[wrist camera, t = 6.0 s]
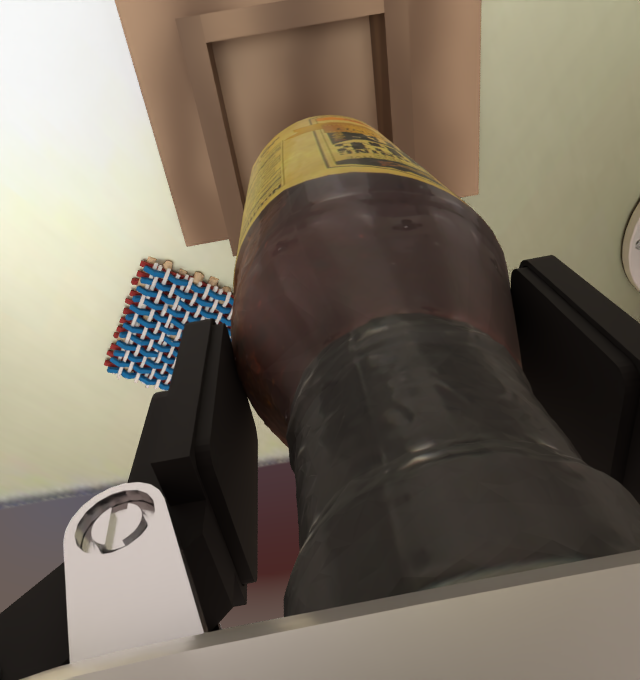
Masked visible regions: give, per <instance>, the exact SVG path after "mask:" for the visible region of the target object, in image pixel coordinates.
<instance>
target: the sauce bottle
mask: <svg viewBox="0 0 640 680" xmlns="http://www.w3.org/2000/svg"><path fill="white" fill-rule="evenodd" d="M233 288H234V302H233V307H232V309H233V311H232V316H231V340H232V341H231V342H232V346H233V347H232V348H233V358H234V362H235V366H236V369H237V373H238V376H239V378H240V380H241V382H242V386H243V389H244V392H245V394H246V396H247V397H248V399H249V400H250V402H251V404H252V406H253V408H254V409H255V411H256V412H257V414H258V415H259V417H260V418H261V419H262V420H263V421H264V424H265V425H266V426H267V427H269V428H270V430H271V431H272V432H273V433H274V434H275V435H276V436H277V437H278V438H279V439H280V440H281V441H282V442H283V443H284V444H285V445H286V446H287V447H288V448H289V458H290V465H291V468H292V470H293V472H294V473H295V478H296V498H297V508H298V524H299V546H300V553H299V555H298V558H297V560H296V563H295V565H294V568H293V570H292V573H291V575H290V579H289V582H288V586H287V589H286V592H285V596H284V617H288V616H293V615H298V614H304V613H309V612H314V611H319V610H324V609H329V608H335V607H340V606H345V605H350V604H355V603H360V602H366V601H371V600H376V599H381V598H386V597H391V596H397V595H402V594H407V593H412V592H418V591H423V590H428V589H433V588H439V587H444V586H449V585H455V584H460V583H465V582H471V581H476V580H481V579H486V578H492V577H497V576H502V575H508V574H513V573H518V572H524V571H529V570H534V569H540V568H545V567H550V566H556V565H561V564H566V563H572V562H577V561H582V560H588V559H593V558H599V557H604V556H609V555H615V554H620V553H625V552H631V551H636V550H640V505H639V503H638V502H637V501H636V500H635V498H634V497H633V495H632V494H631V493H630V492H629V491H628V490H627V489H626V488H625V487H623V486H622V485H621V484H620V483H619V482H618V481H616V480H615V479H613V478H612V477H610V476H609V475H607V474H606V473H604V472H601V471H599V470H596V469H594V468H592V467H590V466H589V465H587V464H586V463H585V462H584V461H583V460H582V458H581V456H580V454H579V453H578V452H577V450H576V449H575V447H574V446H573V444H572V443H571V441H570V440H569V439H568V437H567V436H566V435H565V434H564V432H563V431H562V430H561V429H560V427H559V426H558V425H557V423H556V422H555V421H554V420H553V419H552V418H551V417H550V416H549V415H548V413H547V412H546V410H545V409H544V407H543V406H542V404H541V403H540V402H539V401H538V400H537V398H536V397H535V396H534V394H533V392H532V388H531V385H530V383H529V381H528V380H527V378H526V376H525V374H524V372H523V369H522V362H521V354H520V347H519V340H518V334H517V327H516V321H515V314H514V308H513V302H512V295H511V289H510V282H509V276H508V270H507V265H506V261H505V257H504V253H503V251H502V249H501V247H500V245H499V243H498V241H497V239H496V237H495V235H494V233H493V231H492V230H491V229H490V227H489V226H488V225H487V224H486V222H485V221H484V220H483V219H482V218H481V217H480V216H479V215H478V214H477V213H476V212H475V211H474V210H473V209H472V208H471V207H470V206H469V205H467V204H466V203H465V202H464V201H463V200H461V199H460V198H459V197H458V196H457V195H455V194H454V193H453V192H452V191H450V190H449V189H448V188H447V187H445V186H444V185H443V184H442V183H440V182H439V181H438V180H437V179H436V178H434V177H433V176H432V175H431V174H430V173H429V172H428V171H426V170H425V169H424V168H423V167H422V166H421V165H419V164H418V163H416V162H415V161H414V160H413V159H411V158H410V157H409V156H408V155H407V154H406V153H404V152H403V151H402V150H400V149H399V148H398V147H397V146H395V145H394V144H393V143H392V142H391V141H389V140H388V139H387V138H386V137H384V136H383V135H382V134H381V133H380V132H379V131H377V130H376V129H374V128H372V127H371V126H369V125H367V124H366V123H364V122H362V121H360V120H357V119H354V118H350V117H345V116H338V115H323V116H314V117H309V118H306V119H303V120H300V121H298V122H296V123H294V124H292V125H290V126H289V127H287V128H286V129H284V130H283V131H281V132H280V133H279V134H277V135H276V136H275V137H274V138H273V139H272V140H271V141H270V142H269V143H268V144H267V145H266V147H265V148H264V149H263V150H262V152H261V153H260V155H259V157H258V158H257V160H256V162H255V163H254V165H253V168H252V172H251V176H250V180H249V185H248V190H247V196H246V202H245V207H244V212H243V219H242V225H241V232H240V238H239V245H238V251H237V258H236V264H235V269H234V280H233Z"/></svg>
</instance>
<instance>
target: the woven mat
mask: <svg viewBox="0 0 640 680" xmlns="http://www.w3.org/2000/svg"><path fill="white" fill-rule="evenodd" d="M156 260H157V259H155V258H152V257H148V259H147V261H146V262H145V261H143V260H142V261H141V263H140V266H142V267H144V268H143V271H140V270H138V272H137V275H136V276H138V277H140V279H137V278H132V281H131V283H132V285H137V288H136V291H134V290H131V292H130V294H129V295H130V296H133V298H132V300H130V299H127V298H126V300H125V303H127V304H129V305H130V307H129V309H128V308H124V310H123V314H127V315H126V317H125V318H123V317H121V319H120V323H123V326H119V325H118V327H117V330H116V331H118V332H115V333H114V335H113V336H114V338H118V339H117V343H116V344H113V343H112V344H111V347H110V349H113V350H114V351H111V350H109V351H108V352H107V355H109V356H110V357H111V359H110V361H109V360H105V363H104V365H105V366H109V367H108V369H107V371H108V372H109V373H112V374H116V373H118V374H117V378H118V379H119V378H120V375H122V376H123V377H124V378H125V379H132V378H135V380H134V383H136V382H138V380H140V381H141V383H143V384H146V386H145V387H147V388H149V385H155V386H154V389H158V387H159V388H160V389H162V390H164V391H165V390H169V386H170V382H171V378H172V374H173V370H174V366H175V362H176V358H177V354H178V349H179V345H180V341H181V337H182V333H183V329H184V325H185V323H189V322H194V321H200V320H205V319H210V318H214V320H215V322H216V324H222V323H225V324H226V326H227V329H228V332H229V335H230V339H231V316H232V311H233V309H232V307H233V302H234V295H231V288H228V287H226V286H224V287H223V288H222V289H218V286H216V285H217V282H218V280H219V279H217V278H215V277H212V276H211V277H210V279H209V281H208V284H206V283H205V282H203V281H202V280H203V278H204V275H202V274H201V273H198V272H195V274H194V277H193V276H189V275H187V271H185V270H182V269H180V271H179V273H175V272H172V271H171V270H172V262H170V261H166V262H165V263H164V264H163V267H162V265H159V266H158V263H156ZM167 280H169V281H170V282H169V281H167ZM171 282H172V283H171ZM185 286H187V287H186V288H184V287H185ZM148 289H149V290H148ZM167 291H170V292H167ZM201 293H203V294H201ZM210 307H212V308H210ZM225 307H226V308H225ZM151 321H153V322H151ZM178 340H179V341H178ZM231 341H232V340H231ZM128 343H129V344H128ZM154 361H156V362H154ZM132 371H133V372H134V373H131V372H132Z"/></svg>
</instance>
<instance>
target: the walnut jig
mask: <svg viewBox="0 0 640 680" xmlns="http://www.w3.org/2000/svg"><path fill="white" fill-rule="evenodd" d="M115 3H116V6H117V10H118V13H119V17H120V20H121V24H122V27H123V30H124V34H125V37H126V41H127V44H128V48H129V51H130V54H131V58H132V61H133V65H134V68H135V72H136V75H137V78H138V82H139V85H140V89H141V92H142V96H143V99H144V102H145V106H146V109H147V113H148V116H149V120H150V123H151V126H152V130H153V133H154V137H155V140H156V143H157V147H158V150H159V154H160V157H161V161H162V164H163V167H164V171H165V174H166V178H167V181H168V185H169V188H170V191H171V195H172V198H173V202H174V205H175V209H176V212H177V215H178V219H179V222H180V226H181V229H182V233H183V236H184V239H185V243H186V246H187V247H188V246H193V245H199V244H204V243H210V242H215V241H221V240H226V239H229V241H230V245H231V249H232V253H233V256H237V251H238V245H239V238H240V232H241V225H242V219H243V212H244V207H245V202H246V196H247V190H248V185H249V180H250V176H251V172H252V168H253V165H254V163H255V162H256V160H257V158H258V157H259V155H260V153H261V152H262V150H263V149H264V148H265V147H266V145H267V144H268V143H269V142H270V141H271V140H272V139H273V138H274V137H275V136H276V135H277V134H279V133H280V132H281V131H283V130H284V129H286V128H287V127H289V126H290V125H292V124H294V123H296V122H298V121H300V120H303V119H306V118H309V117H314V116H323V115H338V116H345V117H350V118H354V119H357V120H360V121H362V122H364V123H366V124H367V125H369V126H371V127H372V128H374V129H376V130H377V131H379V132H380V133H381V134H382V135H383V136H384V137H386V138H387V139H388V140H389V141H391V142H392V143H393V144H394V145H395V146H397V147H398V148H399V149H400V150H402V151H403V152H404V153H406V154H407V155H408V156H409V157H410V158H411V159H413V160H414V161H415V162H416V163H418V164H419V165H421V166H422V167H423V168H424V169H425V170H426V171H428V172H429V173H430V174H431V175H432V176H433V177H434V178H436V179H437V180H438V181H439V182H440V183H442V184H443V185H444V186H445V187H447V188H448V189H449V190H450V191H452V192H453V193H454V194H455V195H457V196H458V197H459V198H460V197H466V196H471V195H477V194H478V185H479V117H480V49H481V0H115Z"/></svg>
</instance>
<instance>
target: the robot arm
mask: <svg viewBox="0 0 640 680" xmlns="http://www.w3.org/2000/svg"><path fill="white" fill-rule="evenodd" d="M622 260H623V265H624V269H625V273H626V275H627V277H628V279H629V281H630V283H631V284H632V285H633V286H634V287H635V288H636V289H637V290H638V291H639V292H640V202H639V204H638V205H637V207H636V209H635V211H634V212H633V214H632V216H631V219H630V221H629V224H628V226H627V229H626V232H625V237H624V241H623V253H622ZM511 295H512V302H513V308H514V314H515V321H516V327H517V334H518V340H519V347H520V354H521V362H522V369H523V372H524V374H525V376H526V378H527V380H528V381H529V383H530V385H531V388H532V392H533V394H534V396H535V397H536V398H537V400H538V401H539V402H540V403H541V404H542V406H543V407H544V409H545V410H546V412H547V413H548V415H549V416H550V417H551V418H552V419H553V420H554V421H555V422H556V423H557V425H558V426H559V427H560V429H561V430H562V431H563V432H564V434H565V435H566V436H567V437H568V439H569V440H570V441H571V443H572V444H573V446H574V447H575V449H576V450H577V452H578V453H579V454H580V456H581V458H582V460H583V461H584V462H585V463H586V464H587V465H589V466H590V467H592V468H594V469H596V470H599V471H601V472H604V473H606V474H607V475H609V476H610V477H612V478H613V479H615V480H616V481H618V482H619V483H620V484H621V485H622V486H623V487H625V488H626V489H627V490H628V491H629V492H630V493H631V494H632V495H633V497H634V498H635V500H636V501H637V502H638V503H639V505H640V323H638V322H637V321H636V320H634V319H633V318H632V317H631V316H629V315H628V314H627V313H626V312H624V311H623V310H622V309H621V308H619V307H618V306H617V305H616V304H614V303H613V302H612V301H610V300H609V299H608V298H607V297H605V296H604V295H603V294H602V293H600V292H599V291H598V290H597V289H595V288H594V287H593V286H592V285H590V284H589V283H588V282H586V281H585V280H584V279H583V278H581V277H580V276H579V275H578V274H576V273H575V272H574V271H573V270H571V269H570V268H569V267H568V266H566V265H565V264H564V263H562V262H561V261H560V260H559V259H557V258H556V257H555V256H553V255H550V256H544V257H539V258H533V259H528V260H523V261H522V262H521V264H520V266H519V268H518V269H514V270H513V271H512V274H511ZM232 347H233V346H232V342H231V339H230V335H229V332H228V329H227V326H226V324H225V323H222V324H216V322H215V320H214V318H210V319H205V320H200V321H194V322H189V323H185V325H184V329H183V333H182V337H181V341H180V345H179V349H178V354H177V358H176V362H175V366H174V370H173V374H172V378H171V382H170V386H169V390H168V391H162V392H157V393H155V394H154V395H153V397H152V399H151V403H150V406H149V410H148V413H147V417H146V420H145V424H144V427H143V431H142V434H141V438H140V441H139V445H138V448H137V452H136V455H135V459H134V462H133V466H132V469H131V473H130V476H129V480H128V483H124V484H121V485H118V486H115V487H112V488H109V489H107V490H105V491H104V492H102V493H100V494H98V495H96V496H95V497H93V498H92V499H91V500H89V501H88V502H87V503H86V504H84V505H83V506H82V507H81V508H80V509H79V511H78V512H77V513H76V514H75V515H74V516H73V517H72V519H71V521H70V523H69V525H68V527H67V529H66V531H65V537H64V542H63V544H64V563H62V564H61V565H60V566H59V567H57V568H56V569H55V570H54V571H52V572H51V573H50V574H49V575H47V576H46V577H45V578H44V579H43V580H41V581H40V582H39V583H38V584H36V585H35V586H34V587H33V588H31V589H30V590H29V591H28V592H26V593H25V594H24V595H23V596H21V598H19V599H18V600H17V601H15V602H14V603H13V604H12V605H11V606H9V607H8V608H7V609H5V610H4V611H3V612H2V613H1V614H0V680H640V550H636V551H631V552H625V553H620V554H615V555H609V556H604V557H599V558H593V559H588V560H582V561H577V562H572V563H566V564H561V565H556V566H550V567H545V568H540V569H534V570H529V571H524V572H518V573H513V574H508V575H502V576H497V577H492V578H486V579H481V580H476V581H471V582H465V583H460V584H455V585H449V586H444V587H439V588H433V589H428V590H423V591H418V592H412V593H407V594H402V595H397V596H391V597H386V598H381V599H376V600H371V601H366V602H360V603H355V604H350V605H345V606H340V607H335V608H329V609H324V610H319V611H314V612H309V613H304V614H298V615H293V616H288V617H283V618H278V619H273V620H267V621H262V622H257V623H252V624H247V625H242V626H237V627H231V628H226V629H222V628H221V625H220V621H221V620H222V619H223V618H224V617H225V615H226V614H227V613H228V612H229V611H230V610H231V609H232V608H233V607H234V606H241V605H245V604H246V603H247V602H246V601H247V584H248V583H253V582H256V581H257V533H258V531H257V530H258V529H257V528H258V527H257V526H258V524H257V521H258V514H257V513H258V505H257V503H258V439H257V431H256V426H255V423H254V419H253V416H252V412H251V409H250V405H249V402H248V398H247V396H246V394H245V392H244V389H243V386H242V382H241V380H240V378H239V376H238V373H237V369H236V366H235V362H234V358H233V348H232Z"/></svg>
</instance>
